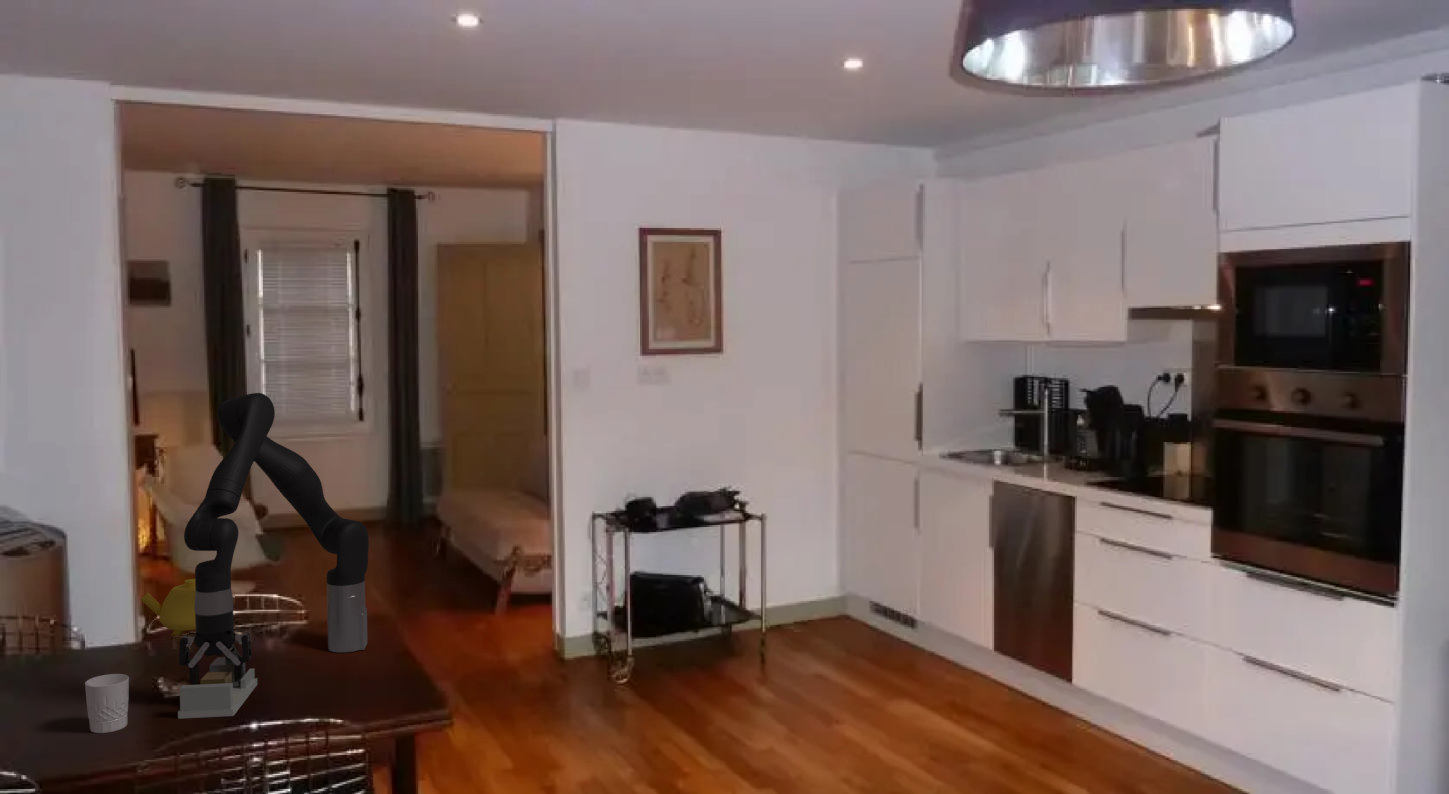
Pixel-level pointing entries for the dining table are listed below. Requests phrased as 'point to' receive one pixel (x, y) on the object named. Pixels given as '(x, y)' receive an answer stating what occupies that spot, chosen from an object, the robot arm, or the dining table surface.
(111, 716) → the white cup
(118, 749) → the dining table surface
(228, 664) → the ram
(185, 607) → the teapot
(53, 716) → the dining table surface
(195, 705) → the press
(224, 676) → the tan cube
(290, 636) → the dining table surface
